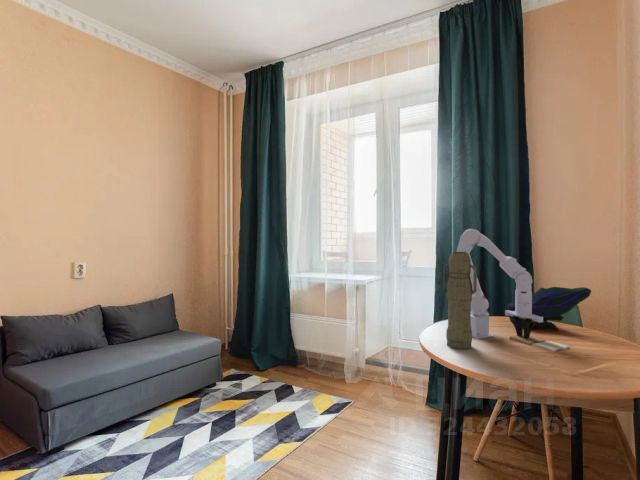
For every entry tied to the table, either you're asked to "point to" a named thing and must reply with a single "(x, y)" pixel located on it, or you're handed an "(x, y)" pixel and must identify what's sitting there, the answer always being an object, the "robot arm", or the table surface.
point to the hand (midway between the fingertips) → (523, 337)
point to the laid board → (550, 346)
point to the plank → (526, 339)
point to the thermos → (459, 300)
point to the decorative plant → (554, 303)
